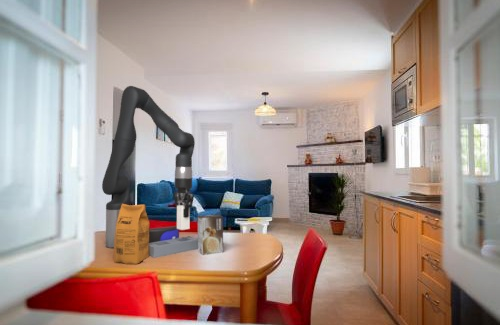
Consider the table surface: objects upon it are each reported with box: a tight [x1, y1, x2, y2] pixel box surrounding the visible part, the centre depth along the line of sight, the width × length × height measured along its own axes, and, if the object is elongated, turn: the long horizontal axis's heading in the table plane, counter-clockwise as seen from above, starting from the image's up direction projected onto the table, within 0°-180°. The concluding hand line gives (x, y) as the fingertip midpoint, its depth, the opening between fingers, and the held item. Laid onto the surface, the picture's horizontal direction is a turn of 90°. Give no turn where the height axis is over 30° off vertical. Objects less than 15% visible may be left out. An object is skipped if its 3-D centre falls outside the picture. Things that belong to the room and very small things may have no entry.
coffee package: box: [113, 204, 150, 265], centre depth 119 cm, size 10×12×22 cm
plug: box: [176, 205, 191, 231], centre depth 133 cm, size 4×4×10 cm
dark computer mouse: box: [149, 225, 180, 243], centre depth 137 cm, size 16×5×9 cm, turn 123°
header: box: [149, 236, 198, 259], centre depth 129 cm, size 9×21×5 cm, turn 132°
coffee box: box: [197, 214, 224, 256], centre depth 127 cm, size 9×6×16 cm
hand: (183, 216), depth 133 cm, fingers closed on plug, 4 cm apart
